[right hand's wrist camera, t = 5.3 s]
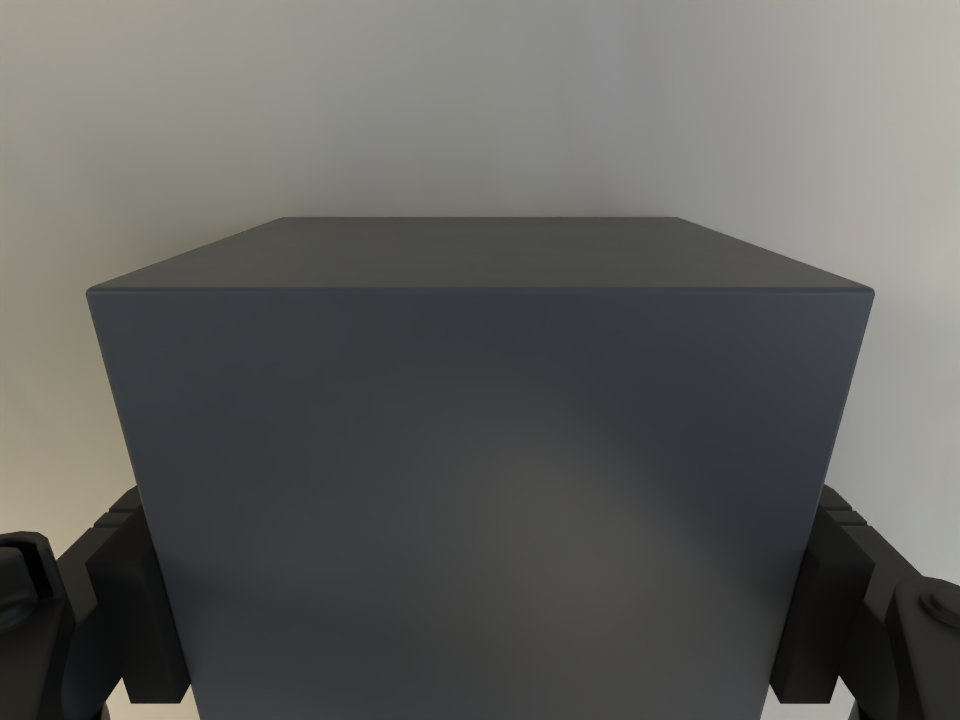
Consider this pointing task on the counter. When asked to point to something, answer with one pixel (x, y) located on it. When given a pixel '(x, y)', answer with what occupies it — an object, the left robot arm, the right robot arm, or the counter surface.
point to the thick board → (480, 462)
